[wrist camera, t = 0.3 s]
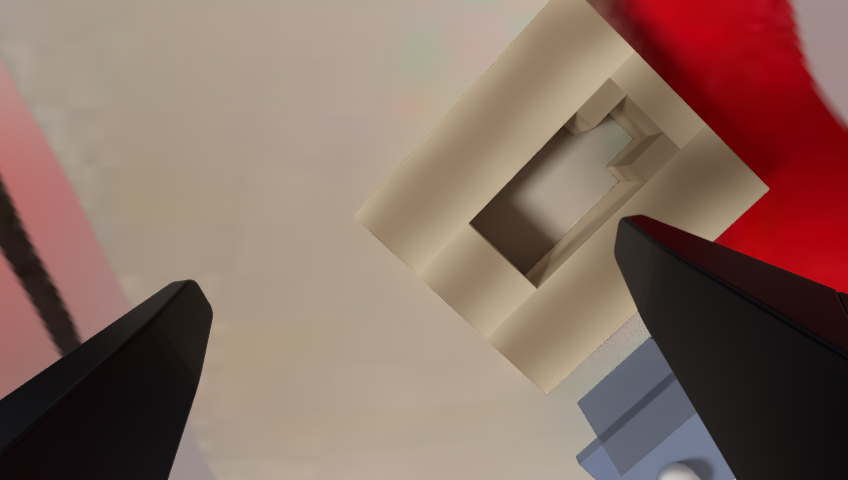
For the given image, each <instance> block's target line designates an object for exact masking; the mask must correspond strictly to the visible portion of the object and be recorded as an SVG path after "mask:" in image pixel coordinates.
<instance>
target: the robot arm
mask: <svg viewBox="0 0 848 480" xmlns="http://www.w3.org/2000/svg"><path fill="white" fill-rule="evenodd" d="M614 256H615V260H616V262H617V264H618V267H619V269H620V271H621V273H622V276H623V278H624V280H625V283H626V285H627V287H628V289H629V292H630V294H631V296H632V298H633V301H634V303H635V305H636V308H637V310H638V312H639V314H640V316H641V318H642V320H643V322H644V324H645V326H646V327H647V329H648V331H649V333H650V334H651V336H652V338H653V339H654V341H655V343H656V344H657V346H658V348H659V350H660V351H661V353H662V355H663V356H664V358H665V360H666V361H667V363H668V365H669V366H670V368H671V370H672V372H673V373H674V375H675V377H676V378H677V380H678V382H679V383H680V385H681V387H682V388H683V390H684V392H685V394H686V395H687V397H688V399H689V400H690V402H691V404H692V405H693V407H694V409H695V411H696V412H697V414H698V416H699V417H700V419H701V421H702V422H703V424H704V426H705V427H706V429H707V431H708V433H709V434H710V436H711V438H712V439H713V441H714V443H715V444H716V446H717V448H718V449H719V451H720V453H721V455H722V456H723V458H724V460H725V461H726V463H727V465H728V466H729V468H730V470H731V471H732V473H733V475H734V477H735V478H736V480H848V294H846V293H844V292H838V293H837V291H836V290H835V289H833V288H830V287H828V286H825V285H823V284H820V283H817V282H815V281H812V280H810V279H807V278H805V277H802V276H799V275H797V274H794V273H792V272H789V271H787V270H784V269H781V268H779V267H776V266H774V265H771V264H769V263H766V262H763V261H761V260H758V259H756V258H753V257H751V256H748V255H745V254H743V253H740V252H738V251H735V250H733V249H730V248H727V247H725V246H722V245H720V244H717V243H715V242H712V241H709V240H707V239H704V238H702V237H699V236H697V235H694V234H691V233H689V232H686V231H684V230H681V229H679V228H676V227H673V226H671V225H668V224H666V223H663V222H661V221H658V220H655V219H653V218H650V217H648V216H645V215H642V214H638V215H631V216H624V217H622V218H621V219H620V220H619V223H618V227H617V234H616V240H615V246H614ZM212 319H213V311H212V308H211V305H210V304H209V302H208V300H207V299H206V297H205V295H204V293H203V292H202V290H201V288H200V287H199V285H198V284H197V282H195V281H194V280H191V279H189V280H182V281H175V282H172V283H170V284H169V285H167V286H166V287H164V288H163V289H161V290H160V291H159V292H157V293H156V294H154V295H153V296H151V297H150V298H148V299H147V300H145V301H144V302H142V303H141V304H140V305H138V306H137V307H135V308H134V309H132V310H131V311H129V312H128V313H127V314H125V315H124V316H122V317H121V318H119V319H118V320H116V321H115V322H113V323H112V324H110V325H109V326H108V327H106V328H105V329H104V330H102V331H100V332H99V333H97V334H96V335H94V336H93V337H92V338H90V339H89V340H87V341H86V342H84V343H83V344H81V345H80V346H78V347H77V348H75V349H74V350H72V351H71V352H70V353H68V354H67V355H65V356H64V357H62V358H61V359H59V360H58V361H56V362H55V363H54V364H52V365H51V366H49V367H48V368H46V369H45V370H43V371H42V372H40V373H39V374H38V375H36V376H35V377H33V378H32V379H30V380H29V381H27V382H26V383H24V384H23V385H21V386H20V387H19V388H17V389H16V390H14V391H13V392H11V393H10V394H8V395H7V396H5V397H4V398H2V399H1V400H0V480H168V478H169V475H170V471H171V469H172V465H173V462H174V459H175V456H176V453H177V450H178V447H179V444H180V441H181V438H182V435H183V432H184V428H185V425H186V422H187V419H188V416H189V413H190V410H191V407H192V404H193V401H194V397H195V394H196V391H197V388H198V384H199V381H200V377H201V372H202V368H203V363H204V358H205V353H206V348H207V343H208V338H209V334H210V329H211V324H212Z"/></svg>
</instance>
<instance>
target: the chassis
mask: <svg viewBox="0 0 848 480" xmlns="http://www.w3.org/2000/svg"><path fill="white" fill-rule="evenodd" d="M608 113H609V114H610V115H611V116H612V117H613V118H614V119H615V120H616V121H617V122H618V123H619V124H620V125H621V126H622V127H623V128H624V129H625V130H626V131H627V132H628V133H629V134H630V135H631V136H632V137H633V138H634V139H633V140H632V141H631V142H630V143H629V144H628V145H627V146H626V147H625V148H624V149H623V150H622V151H621V152H620V153H619V154H618V155H617V156H616V157H615V158H614V159H613V160H612V161H611V162H610V163H609V164H608V165H607V166H606V168H607V169H608V170H609V171H610V172H611V173H612V174H613V175H614V176H615V177H616V178H617V179H618V180H619V181H620V182H619V183H618V184H617V185H616V186H615V187H614V188H613V189H612V190H611V191H610V192H609V193H608V194H607V195H606V196H605V197H603V198H602V199H601V200H600V201H599V202H598V203H597V204H596V205H595V206H594V207H593V208H592V209H591V210H590V211H589V212H588V213H587V214H586V215H585V216H584V217H583V218H582V219H581V220H580V221H579V222H578V223H577V224H576V225H575V226H574V227H573V228H572V229H571V230H570V231H569V232H568V233H567V234H566V235H565V236H564V237H563V238H562V239H561V240H560V241H559V242H558V243H557V244H556V245H555V246H554V247H553V248H552V249H551V250H550V251H549V252H548V253H547V254H546V255H545V256H544V257H543V258H542V259H541V260H540V261H539V262H538V263H536V264H535V265H534V266H533V267H532V268H531V269H530V270H529V271H528V272H527V273H526V274H525V275H524V274H523V273H522V272H521V271H520V270H519V269H518V268H517V267H516V266H515V265H514V264H513V263H512V262H511V261H510V260H509V259H508V258H507V257H505V256H504V255H503V254H502V253H501V252H500V251H499V250H498V249H497V248H496V247H495V246H494V245H493V244H492V243H491V242H490V241H489V240H488V239H487V238H485V237H484V236H483V235H482V234H481V233H480V232H479V231H478V230H477V229H476V228H475V227H474V226H473V225H472V224H471V223H470V221H471V220H472V219H473V218H474V217H475V216H476V215H477V214H478V213H479V212H480V211H481V210H482V209H483V208H484V207H485V206H486V205H487V204H488V202H489V201H490V200H491V199H492V198H493V197H494V196H495V195H496V194H497V193H498V192H499V191H500V190H501V189H502V188H503V187H504V186H505V185H506V184H507V183H508V182H509V181H510V180H511V179H512V178H513V177H514V176H515V175H516V173H517V172H518V171H519V170H520V169H521V168H522V167H523V166H524V165H525V164H526V163H527V162H528V161H529V160H530V159H531V158H532V157H533V156H534V155H535V154H536V153H537V152H538V151H539V150H540V149H541V148H542V147H543V146H544V144H545V143H546V142H547V141H548V140H549V139H550V138H551V137H552V136H553V135H554V134H555V133H556V132H557V131H558V130H559V129H560V128H561V127H562V126H564V127H565V128H566V129H567V130H568V131H569V132H570V133H571V134H572V135H575V134H578V133H581V132H584V131H587V130H590V129H593V128H595V127H596V126H597V125H598V123H599V122H600V121H601V120H602V119H603V118H604V117H605V116H606V115H607V114H608ZM768 190H769V188H768V187H767V186H766V185H765V184H764V183H763V182H762V181H761V180H760V179H759V178H758V176H757V175H756V174H755V173H754V172H753V171H752V170H751V169H750V168H749V167H748V166H747V165H746V164H745V163H744V162H743V161H742V160H741V159H740V158H739V157H738V156H737V155H736V154H735V153H734V152H733V151H732V150H731V149H730V148H729V147H728V146H727V145H726V144H725V143H724V142H723V141H722V140H721V139H720V138H719V136H718V135H717V134H716V133H715V132H714V131H713V130H712V129H711V128H710V127H709V126H708V125H707V124H706V123H705V122H704V121H703V120H702V119H701V118H700V117H699V116H698V115H697V114H696V113H695V112H694V111H693V110H692V109H691V108H690V107H689V106H688V105H687V104H686V103H685V102H684V101H683V100H682V99H681V97H680V96H679V95H678V94H677V93H676V92H675V91H674V90H673V89H672V88H671V87H670V86H669V85H668V84H667V83H666V82H665V81H664V80H663V79H662V78H661V77H660V76H659V75H658V74H657V73H656V72H655V71H654V70H653V69H652V68H651V67H650V66H649V65H648V64H647V63H646V62H645V61H644V60H643V59H642V57H641V56H640V55H639V54H638V53H637V52H636V51H635V50H634V49H633V48H632V47H631V46H630V45H629V44H628V43H627V42H626V41H625V40H624V39H623V38H622V37H621V36H620V35H619V34H618V33H617V32H616V31H615V30H614V29H613V28H612V27H611V26H610V25H609V24H608V23H607V22H606V21H605V20H604V18H603V17H602V16H601V15H600V14H599V13H598V12H597V11H596V10H595V9H594V8H593V7H592V6H591V5H590V4H589V3H588V2H587V1H586V0H550V1H549V2H548V4H547V5H546V6H545V7H544V8H543V9H542V10H541V11H540V12H539V13H538V14H537V16H536V17H535V18H534V19H533V20H532V21H531V22H530V23H529V24H528V25H527V27H526V28H525V29H524V30H523V31H522V32H521V33H520V34H519V35H518V36H517V38H516V39H515V40H514V41H513V42H512V43H511V44H510V45H509V46H508V47H507V48H506V50H505V51H504V52H503V53H502V54H501V55H500V56H499V57H498V58H497V59H496V61H495V62H494V63H493V64H492V65H491V66H490V67H489V68H488V69H487V70H486V72H485V73H484V74H483V75H482V76H481V77H480V78H479V79H478V80H477V81H476V83H475V84H474V85H473V86H472V87H471V88H470V89H469V90H468V91H467V92H466V93H465V95H464V96H463V97H462V98H461V99H460V100H459V101H458V102H457V103H456V104H455V106H454V107H453V108H452V109H451V110H450V111H449V112H448V113H447V114H446V115H445V117H444V118H443V119H442V120H441V121H440V122H439V123H438V124H437V125H436V126H435V128H434V129H433V130H432V131H431V132H430V133H429V134H428V135H427V136H426V137H425V138H424V140H423V141H422V142H421V143H420V144H419V145H418V146H417V147H416V148H415V149H414V151H413V152H412V153H411V154H410V155H409V156H408V157H407V158H406V159H405V160H404V162H403V163H402V164H401V165H400V166H399V167H398V168H397V169H396V170H395V171H394V172H393V174H392V175H391V176H390V177H389V178H388V179H387V180H386V181H385V182H384V183H383V185H382V186H381V187H380V188H379V189H378V190H377V191H376V192H375V193H374V194H373V196H372V197H371V198H370V199H369V200H368V201H367V202H366V203H365V204H364V205H363V207H362V208H361V209H360V210H359V211H358V212H357V213H356V214H355V215H354V217H355V218H356V219H357V220H358V221H359V222H360V223H361V224H362V225H363V226H364V227H365V228H366V229H368V230H369V231H370V232H371V233H372V234H373V235H374V236H375V237H376V238H377V239H378V240H379V241H381V242H382V243H383V244H384V245H385V246H386V247H387V248H388V249H389V250H390V251H391V252H392V253H393V254H395V255H396V256H397V257H398V258H399V259H400V260H401V261H402V262H403V263H404V264H405V265H406V266H407V267H409V268H410V269H411V270H412V271H413V272H414V273H415V274H416V275H417V276H418V277H419V278H420V279H422V280H423V281H424V282H425V283H426V284H427V285H428V286H429V287H430V288H431V289H432V290H433V291H434V292H436V293H437V294H438V295H439V296H440V297H441V298H442V299H443V300H444V301H445V302H446V303H447V304H449V305H450V306H451V307H452V308H453V309H454V310H455V311H456V312H457V313H458V314H459V315H460V316H461V317H463V318H464V319H465V320H466V321H467V322H468V323H469V324H470V325H471V326H472V327H473V328H474V329H476V330H477V331H478V332H479V333H480V334H481V335H482V336H483V337H484V338H485V339H486V340H487V341H488V342H490V343H491V344H492V345H493V346H494V347H495V348H496V349H497V350H498V351H499V352H500V353H501V354H503V355H504V356H505V357H506V358H507V359H508V360H509V361H510V362H511V363H512V364H513V365H514V366H515V367H517V368H518V369H519V370H520V371H521V372H522V373H523V374H524V375H525V376H526V377H527V378H528V379H529V380H531V381H532V382H533V383H534V384H535V385H536V386H537V387H538V388H539V389H540V390H541V391H542V392H544V393H545V394H546V395H547V394H548V393H549V392H550V391H551V390H552V389H553V388H555V387H556V386H557V385H558V384H559V383H560V382H561V381H562V380H563V379H564V378H565V377H567V376H568V375H569V374H570V373H571V372H572V371H573V370H574V369H575V368H576V367H577V366H578V365H580V364H581V363H582V362H583V361H584V360H585V359H586V358H587V357H588V356H589V355H590V354H591V353H593V352H594V351H595V350H596V349H597V348H598V347H599V346H600V345H601V344H602V343H603V342H604V341H606V340H607V339H608V338H609V337H610V336H611V335H612V334H613V333H614V332H615V331H616V330H618V329H619V328H620V327H621V326H622V325H623V324H624V323H625V322H626V321H627V320H628V319H629V318H631V317H632V316H633V315H634V314H635V313H636V312H637V311H638V310H637V308H636V305H635V303H634V301H633V298H632V296H631V294H630V292H629V289H628V287H627V285H626V283H625V280H624V278H623V276H622V273H621V271H620V269H619V267H618V264H617V262H616V260H615V256H614V246H615V240H616V234H617V227H618V223H619V220H620V219H621V218H622V217H624V216H631V215H638V214H642V215H645V216H648V217H650V218H653V219H655V220H658V221H661V222H663V223H666V224H668V225H671V226H673V227H676V228H679V229H681V230H684V231H686V232H689V233H691V234H694V235H697V236H699V237H702V238H704V239H707V240H709V241H712V242H713V241H714V240H715V239H716V238H717V237H718V236H720V235H721V234H722V233H723V232H724V231H725V230H726V229H727V228H728V227H729V226H730V225H731V224H733V223H734V222H735V221H736V220H737V219H738V218H739V217H740V216H741V215H742V214H743V213H744V212H746V211H747V210H748V209H749V208H750V207H751V206H752V205H753V204H754V203H755V202H756V201H758V200H759V199H760V198H761V197H762V196H763V195H764V194H765V193H766V192H767V191H768Z"/></svg>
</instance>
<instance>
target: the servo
mask: <svg viewBox="0 0 848 480" xmlns="http://www.w3.org/2000/svg"><path fill="white" fill-rule="evenodd" d="M578 405H579V407H580V408H581V410H582V412H583V413H584V415H585V417H586V418H587V420H588V422H589V423H590V425H591V427H592V428H593V430H594V432H595V434H596V435H597V438H596V439H595V440H594V441H593V442H592V443H590V444H589V445H588V446H587V447H586V448H585V449H584V450H582V451H581V452H580V453H579V454H578V455H577V456H576V458H577V461H578V463H579V465H580V466H582V467H583V468H584V469H585V470H586V471H587V472H588V473H589V474H590V475H591V476H592V477H594V478H595V479H596V480H734V479H735V477H734V475H733V473H732V471H731V470H730V468H729V466H728V465H727V463H726V461H725V460H724V458H723V456H722V455H721V453H720V451H719V449H718V448H717V446H716V444H715V443H714V441H713V439H712V438H711V436H710V434H709V433H708V431H707V429H706V427H705V426H704V424H703V422H702V421H701V419H700V417H699V416H698V414H697V412H696V411H695V409H694V407H693V405H692V404H691V402H690V400H689V399H688V397H687V395H686V394H685V392H684V390H683V388H682V387H681V385H680V383H679V382H678V380H677V378H676V377H675V375H674V373H673V372H672V370H671V368H670V366H669V365H668V363H667V361H666V360H665V358H664V356H663V355H662V353H661V351H660V350H659V348H658V346H657V344H656V343H655V341H654V340H652V339H651V338H649V339H647V340H646V341H645V342H644V343H643V344H642V345H641V346H640V347H639V348H637V349H636V350H635V351H634V352H633V353H632V354H631V355H630V356H629V357H628V358H626V359H625V360H624V361H623V362H622V363H621V364H620V365H619V366H618V367H616V368H615V369H614V370H613V371H612V372H611V373H610V374H609V375H608V376H606V377H605V378H604V379H603V380H602V381H601V382H600V383H599V384H598V385H597V386H595V387H594V388H593V389H592V390H591V391H590V392H589V393H588V394H587V395H585V396H584V397H583V398H582V399H581V400H580V401H579V402H578Z"/></svg>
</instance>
